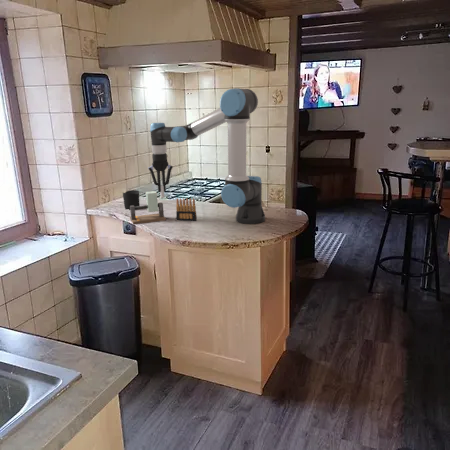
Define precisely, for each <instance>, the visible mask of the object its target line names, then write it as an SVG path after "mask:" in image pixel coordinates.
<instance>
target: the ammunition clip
mask: <svg viewBox="0 0 450 450" xmlns="http://www.w3.org/2000/svg"><path fill="white" fill-rule="evenodd" d="M175 207H176V212H175V214H176V216H175V217H176V222H178V221H180V222H197V220H198V219H197V210H196V209H197V207H196V201H195V197H194V198H189V199H188V198H186V199H185V198H184V197H183V199H182V198H181V197H180V198H178V197H177V198H176V206H175Z"/></svg>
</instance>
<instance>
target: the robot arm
mask: <svg viewBox="0 0 450 450" xmlns="http://www.w3.org/2000/svg"><path fill="white" fill-rule="evenodd" d="M258 103H259V98H258V96H257V94H256V92H254V91H253V90H251V89H250V88H236V87H235V88H230V89H227V90H226V91H224V92H223V93H222V95H221V97H220V99H219V108H217V109H215V110H213V111H211V112H209V113H208V114H206V115H203V116H202V117H199V118H198V119H196V120H194V121H192V122H190V123H188V124H186V125H179V126H166V124H165V122H152V123H151V124H150V131H149V133H150V140H151V141H150V142H151V153H152V155H151V156H152V163H151V165H150V166H148V168H147V169H148V170H149V173H150V175H151V178H152V182H153V184H154V185H155V186H157V191H158V192H159V193H160V194H159V195H160V196H159V197H160V198H161V199H165V192H166V187H167V185H169V184H170V179H171V174H172V173H171V172H172V170H173V168H174V166H173V165H170V164H169V162H168V154H167V142H169V143H183V142H185V141H191V140H195V139H197V138H198V137H199V136H201V135H203V134H204V133H206V132H208V131H211V130H213V129H215V128H217V127H220V126H221V125H223V124H225V123H226V124H227V170H228V171H227V176H226V177H225V178H224V186H223V187H222V189H221V191H220V195H221V196H220V197H221V199H222V201H223V203H224V204H225V205H226V206H227V207H229V208H233V209H234V208H237V212H236V215H235V221H236V222H237V223H239V224H244V225H248V224H250V225H251V224H261V223H264V222H265V221H266V214H265V212H264V209H263V203H262V201H263V199H262V198H263V197H262V195H263V194H262V193H263V192H262V189H263V188H262V186H263V185H262V184H263V183H262V177H260V176H258V175H247V123H248V122H249V121H250V119H251V118H250V115H251V114H252V113H253V112H255V111H256V109H257V108H258ZM166 169H167V172H166ZM154 170H155V171H156V176H155V172H154ZM165 173H166V174H165Z"/></svg>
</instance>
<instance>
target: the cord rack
mask: <svg viewBox="0 0 450 450" xmlns="http://www.w3.org/2000/svg"><path fill="white" fill-rule="evenodd" d="M147 208H148V205H147V204H146V205H140V206H136V207H135V206H134V205H133V206H130V210H129V211H130V216H129V219H130V221H131V222H132V224H133V225H138V224H147V223H155V222H163V221H167V218H166V217H165V213H164V203H163V202H158V213H152V214H142V215H136V210H144V209H146V210H147Z"/></svg>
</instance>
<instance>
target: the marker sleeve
mask: <svg viewBox="0 0 450 450" xmlns="http://www.w3.org/2000/svg"><path fill="white" fill-rule="evenodd" d="M145 201H146V205H148V208H146V211H147V212H148V213H154V212H159V209H158V203H159V201H158V193H157V192H156V191H155V190H154V191H153V190H151V191H145Z"/></svg>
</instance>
